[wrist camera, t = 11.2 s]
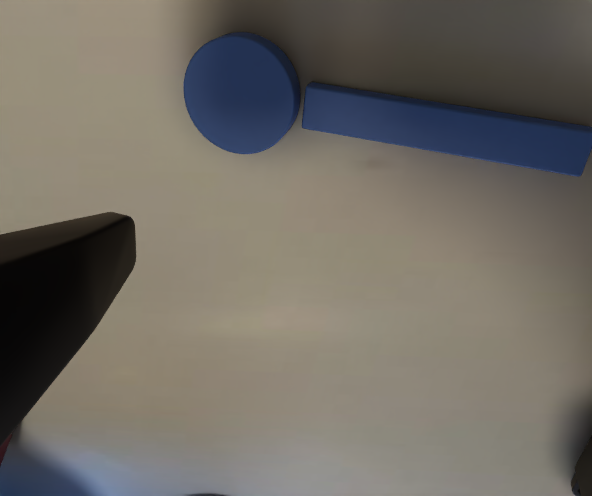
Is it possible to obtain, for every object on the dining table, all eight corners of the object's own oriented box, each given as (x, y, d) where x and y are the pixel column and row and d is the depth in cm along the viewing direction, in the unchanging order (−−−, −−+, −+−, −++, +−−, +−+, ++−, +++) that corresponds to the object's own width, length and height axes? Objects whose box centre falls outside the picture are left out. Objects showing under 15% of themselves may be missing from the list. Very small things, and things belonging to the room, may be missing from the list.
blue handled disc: (609, 84, 18) (616, 91, 17) (563, 205, 20) (567, 216, 19) (193, 24, 20) (181, 27, 20) (193, 136, 23) (183, 144, 22)
